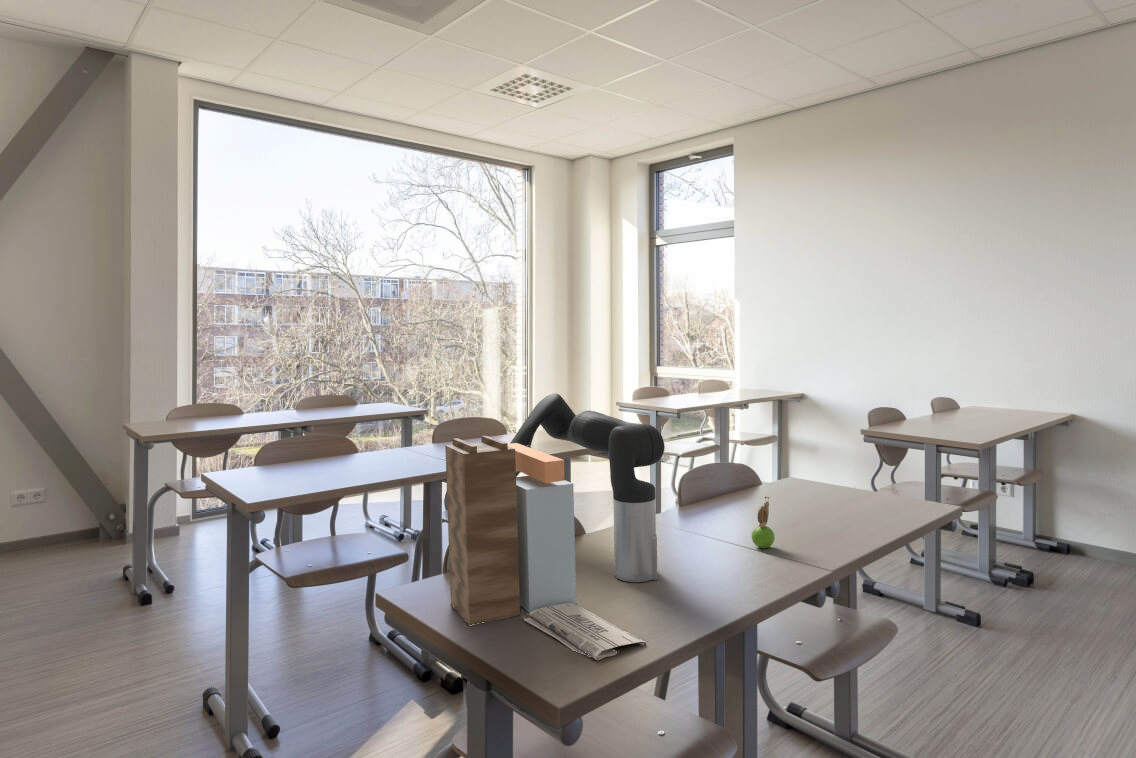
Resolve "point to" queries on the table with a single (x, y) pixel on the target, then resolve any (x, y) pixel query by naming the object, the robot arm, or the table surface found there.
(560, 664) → the table surface
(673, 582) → the table surface
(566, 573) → the short post
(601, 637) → the newspaper
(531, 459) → the beam
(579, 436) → the robot arm
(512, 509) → the tall post
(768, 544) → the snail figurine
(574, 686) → the table surface
